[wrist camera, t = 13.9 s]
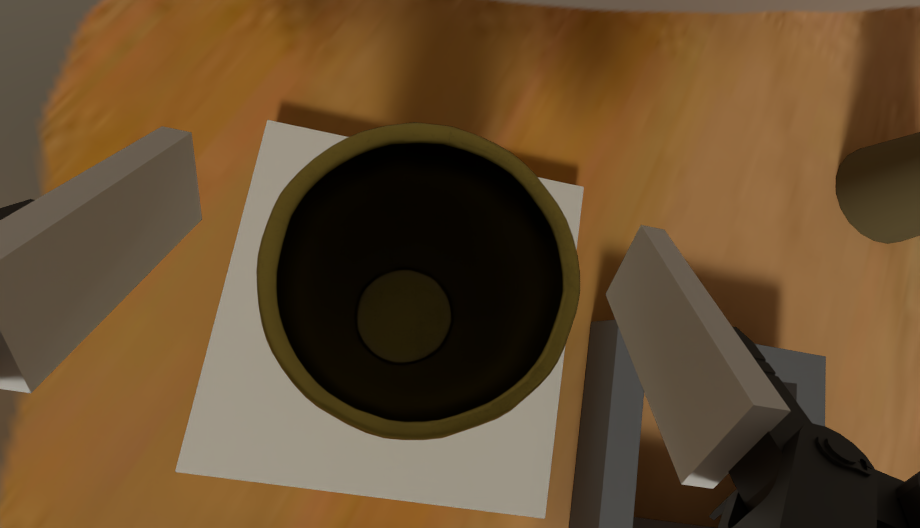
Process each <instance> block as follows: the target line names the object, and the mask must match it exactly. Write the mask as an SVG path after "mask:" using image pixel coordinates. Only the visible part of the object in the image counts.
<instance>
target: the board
mask: <svg viewBox="0 0 920 528" xmlns="http://www.w3.org/2000/svg"><path fill="white" fill-rule="evenodd" d="M345 138H348V137H346V136H341V135H336V134H332V133H327V132H322V131H318V130H313V129H308V128H303V127H299V126H294V125H289V124H285V123H280V122H275V121H270V120H267V124H266V127H265V131H264V135H263V139H262V143H261V147H260V150H259V154H258V158H257V162H256V166H255V169H254V173H253V177H252V181H251V185H250V188H249V192H248V196H247V200H246V204H245V208H244V211H243V215H242V219H241V223H240V227H239V230H238V234H237V238H236V242H235V246H234V249H233V253H232V257H231V261H230V265H229V269H228V272H227V276H226V280H225V284H224V288H223V291H222V295H221V299H220V303H219V307H218V310H217V314H216V318H215V322H214V326H213V330H212V333H211V337H210V341H209V345H208V349H207V352H206V356H205V360H204V364H203V368H202V371H201V375H200V379H199V383H198V387H197V391H196V394H195V398H194V402H193V406H192V410H191V413H190V417H189V421H188V425H187V429H186V432H185V436H184V440H183V444H182V448H181V452H180V455H179V459H178V463H177V467H176V471H175V472H181V473H189V474H196V475H204V476H212V477H220V478H228V479H236V480H244V481H252V482H260V483H267V484H275V485H283V486H291V487H299V488H307V489H315V490H323V491H331V492H338V493H346V494H354V495H362V496H370V497H378V498H386V499H394V500H402V501H409V502H417V503H425V504H433V505H441V506H449V507H457V508H465V509H473V510H481V511H488V512H496V513H504V514H512V515H520V516H528V517H536V518H544V519H545V513H546V505H547V496H548V488H549V479H550V471H551V462H552V453H553V445H554V436H555V428H556V419H557V411H558V402H559V394H560V385H561V377H562V368H563V360H564V351H565V347H564V350H563V352H562V354H561V356H560V358H559V361H558V363H557V364H556V366H555V367H554V369H553V370H552V372H551V373H550V375H549V376H548V377H547V378H546V379H545V380H544V381H543V382H542V383H541V385H540V386H539V387H538V388H536V389H535V390H534V391H533V392H532V393H531V394H530V395H529V396H527V397H526V398H525V399H524V400H523V401H522V402H520V403H519V404H518V405H517V406H516V407H515V408H514V409H512V410H511V411H510V412H508V413H506V414H505V415H503V416H501V417H499V418H498V419H496V420H493V421H490V422H488V423H485V424H482V425H480V426H477V427H474V428H471V429H468V430H465V431H462V432H459V433H456V434H453V435H450V436H447V437H444V438H440V439H429V440H397V439H387V438H381V437H378V436H375V435H371V434H368V433H365V432H363V431H360V430H358V429H356V428H354V427H352V426H350V425H347V424H346V423H344V422H342V421H340V420H339V419H337V418H335V417H333V416H331V415H330V414H328V413H326V412H325V411H323V410H321V409H320V408H318V407H317V406H315V405H314V404H313V403H312V402H311V401H309V400H308V399H307V398H306V397H305V396H304V395H303V394H302V393H301V392H300V391H299V390H298V389H297V388H296V387H295V385H294V384H293V383H292V382H291V380H290V379H289V378H288V376H287V375H286V374H285V372H284V371H283V370H282V368H281V367H280V365H279V363H278V362H277V360H276V358H275V357H274V355H273V354H272V352H271V349H270V347H269V345H268V342H267V340H266V337H265V334H264V331H263V327H262V323H261V318H260V312H259V306H258V295H257V275H256V269H257V258H258V251H259V247H260V243H261V239H262V236H263V233H264V230H265V227H266V224H267V221H268V219H269V216H270V214H271V211H272V209H273V206H274V205H275V203H276V201H277V199H278V197H279V195H280V193H281V192H282V191H283V189H284V188H285V187H286V186H287V184H288V183H289V182H290V181H291V180H292V179H293V178H294V177H295V175H296V174H297V173H298V172H299V171H300V170H301V169H303V168H304V167H305V166H306V165H307V164H308V163H309V162H310V161H312V160H313V159H314V158H315V157H317V156H318V155H319V154H321V153H322V152H324V151H325V150H327V149H328V148H329V147H331V146H333V145H335V144H336V143H338V142H340V141H342V140H344V139H345ZM538 178H539V177H538ZM539 180H540V181H541V182H542V184H543V185H544V186H545V187H546V189H547V190H548V191H549V193H550V194H551V195H552V197H553V198H554V199H555V201H556V202H557V203H558V205H559V207H560V209H561V210H562V212H563V214H564V216H565V217H566V219H567V222H568V225H569V227H570V230H571V233H572V235H573V239H574V243H575V247H576V249H577V240H578V232H579V223H580V214H581V206H582V197H583V189H584V187H581V186H577V185H572V184H567V183H562V182H558V181H553V180H548V179H544V178H539Z"/></svg>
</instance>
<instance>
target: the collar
mask: <svg viewBox="0 0 920 528" xmlns="http://www.w3.org/2000/svg"><path fill="white" fill-rule="evenodd" d="M755 345H756V346H757V348H758V349H759V351H760V352H761V353H762V355H763V356H764V357H765V359H766V362H767V363H769V364H770V366H771V367H772V368H773V370H774V371H775V373H776V374H775V376H778V377H779V378H780V379H781V381H782V382H783V384H784V385H785V386H786V388H787V389H788V390H789V392H790V393H791V395H792V396H793V397H794V399H795V400H796V402H797V403H798V404H799V406H800V407H801V408H802V410H803V411H804V413H805V414H806V415H807V417H808V418H809V419H810V421H811V422H812V424H817V425H821V426H825V365H826V357H825V356H819V355H814V354H808V353H803V352H797V351H792V350H786V349H780V348H775V347H769V346H764V345H758V344H755ZM643 397H644V390H643V387H642V385H641V382H640V380H639V377H638V375H637V372H636V370H635V367H634V365H633V362H632V360H631V357H630V355H629V352H628V350H627V347H626V345H625V342H624V340H623V337H622V334H621V332H620V329H619V327H618V324H617V322H616V320H607V321H596V322H591V328H590V337H589V347H588V356H587V365H586V375H585V384H584V393H583V402H582V412H581V421H580V430H579V440H578V449H577V458H576V467H575V477H574V486H573V495H572V505H571V514H570V523H569V528H714V527H706V526H698V525H691V524H683V523H675V522H668V521H660V520H652V519H644V518H637V517H634V505H635V493H636V481H637V469H638V457H639V445H640V433H641V421H642V409H643Z"/></svg>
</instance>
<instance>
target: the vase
mask: <svg viewBox="0 0 920 528" xmlns="http://www.w3.org/2000/svg"><path fill="white" fill-rule="evenodd" d="M256 275H257V295H258V306H259V312H260V318H261V323H262V327H263V331H264V334H265V337H266V340H267V342H268V345H269V347H270V349H271V352H272V354H273V355H274V357H275V358H276V360H277V362H278V363H279V365H280V367H281V368H282V370H283V371H284V372H285V374H286V375H287V376H288V378H289V379H290V380H291V382H292V383H293V384H294V385H295V387H296V388H297V389H298V390H299V391H300V392H301V393H302V394H303V395H304V396H305V397H306V398H307V399H308V400H309V401H311V402H312V403H313V404H314V405H315V406H317V407H318V408H320V409H321V410H323V411H325V412H326V413H328V414H330V415H331V416H333V417H335V418H337V419H339V420H340V421H342V422H344V423H346V424H347V425H350V426H352V427H354V428H356V429H358V430H360V431H363V432H365V433H368V434H371V435H375V436H378V437H381V438H387V439H397V440H429V439H440V438H444V437H447V436H450V435H453V434H456V433H459V432H462V431H465V430H468V429H471V428H474V427H477V426H480V425H482V424H485V423H488V422H490V421H493V420H496V419H498V418H499V417H501V416H503V415H505V414H506V413H508V412H510V411H511V410H512V409H514V408H515V407H516V406H517V405H518V404H519V403H520V402H522V401H523V400H524V399H525V398H526V397H527V396H529V395H530V394H531V393H532V392H533V391H534V390H535V389H536V388H538V387H539V386H540V385H541V383H542V382H543V381H544V380H545V379H546V378H547V377H548V376H549V375H550V373H551V372H552V370H553V369H554V367H555V366H556V364H557V363H558V361H559V358H560V356H561V354H562V352H563V350H564V347H565V344H566V341H567V338H568V335H569V332H570V330H571V327H572V324H573V320H574V317H575V314H576V311H577V306H578V301H579V296H580V270H579V262H578V255H577V251H576V247H575V243H574V239H573V235H572V233H571V230H570V227H569V225H568V222H567V219H566V217H565V216H564V214H563V212H562V210H561V209H560V207H559V205H558V203H557V202H556V201H555V199H554V198H553V197H552V195H551V194H550V193H549V191H548V190H547V189H546V187H545V186H544V185H543V184H542V182H541V181H540V180H539V178H538V177H537V176H536V175H535V174H534V173H533V172H532V171H531V170H530V169H529V168H528V167H527V166H526V165H525V164H524V163H523V162H522V161H521V160H520V159H518V158H517V157H516V156H515V155H513V154H512V153H511V152H510V151H508V150H506V149H504V148H502V147H501V146H499V145H497V144H495V143H493V142H491V141H489V140H486V139H484V138H482V137H480V136H477V135H475V134H472V133H469V132H466V131H464V130H461V129H458V128H455V127H452V126H444V125H435V124H426V123H417V122H413V123H405V124H397V125H389V126H383V127H379V128H375V129H371V130H366V131H363V132H360V133H358V134H355V135H353V136H350V137H348V138H345V139H344V140H342V141H340V142H338V143H336V144H335V145H333V146H331V147H329V148H328V149H327V150H325V151H324V152H322V153H321V154H319V155H318V156H317V157H315V158H314V159H313V160H312V161H310V162H309V163H308V164H307V165H306V166H305V167H304V168H303V169H301V170H300V171H299V172H298V173H297V174H296V175H295V177H294V178H293V179H292V180H291V181H290V182H289V183H288V184H287V186H286V187H285V188H284V189H283V191H282V192H281V193H280V195H279V197H278V199H277V201H276V203H275V205H274V206H273V209H272V211H271V214H270V216H269V219H268V221H267V224H266V227H265V230H264V233H263V236H262V239H261V243H260V247H259V251H258V258H257V269H256Z"/></svg>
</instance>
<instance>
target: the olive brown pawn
mask: <svg viewBox="0 0 920 528" xmlns="http://www.w3.org/2000/svg"><path fill="white" fill-rule="evenodd" d="M836 194H837V198H838V201H839V204H840V208H841V210H842V211H843V213H844V215H845V216H846V218H847V220H848V221H849V223H850V224H851V225H852V226H853V227H855V228H856V229H857V230H858V231H859V232H860V233H861V234H863V235H864V236H866V237H868V238H870V239H872V240H873V241H877V242H883V243H895V242H901V241H904V240H907V239H910V238H913V237H916V236H919V235H920V132H919V133H915V134H912V135H908V136H905V137H901V138H897V139H894V140H890V141H887V142H883V143H880V144H876V145H872V146H869V147H865V148H862V149H859V150H857V151H855V152H853V153H851V154H849V155H848V156H847V157H846V158H845V160H844V161H843V162H842V163H841V165H840V167H839V170H838V173H837V177H836Z"/></svg>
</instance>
